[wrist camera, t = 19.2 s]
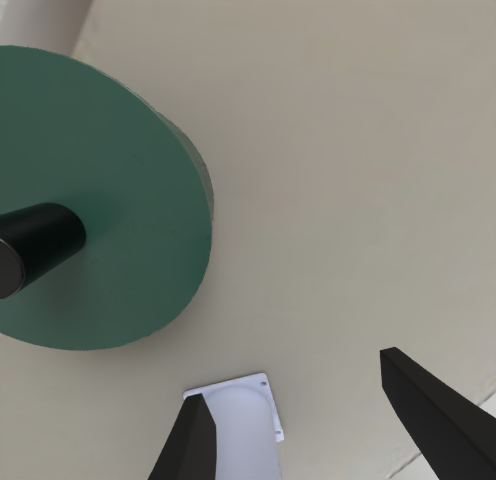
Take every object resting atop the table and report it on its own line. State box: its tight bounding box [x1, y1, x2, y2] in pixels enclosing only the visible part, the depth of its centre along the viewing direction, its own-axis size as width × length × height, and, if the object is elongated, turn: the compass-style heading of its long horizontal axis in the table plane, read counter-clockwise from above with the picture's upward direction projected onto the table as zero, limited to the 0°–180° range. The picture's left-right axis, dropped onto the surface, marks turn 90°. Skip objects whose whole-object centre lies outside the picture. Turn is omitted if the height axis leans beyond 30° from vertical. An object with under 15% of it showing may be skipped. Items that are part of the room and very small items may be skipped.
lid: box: [0, 45, 212, 351], centre depth 9 cm, size 13×13×5 cm
